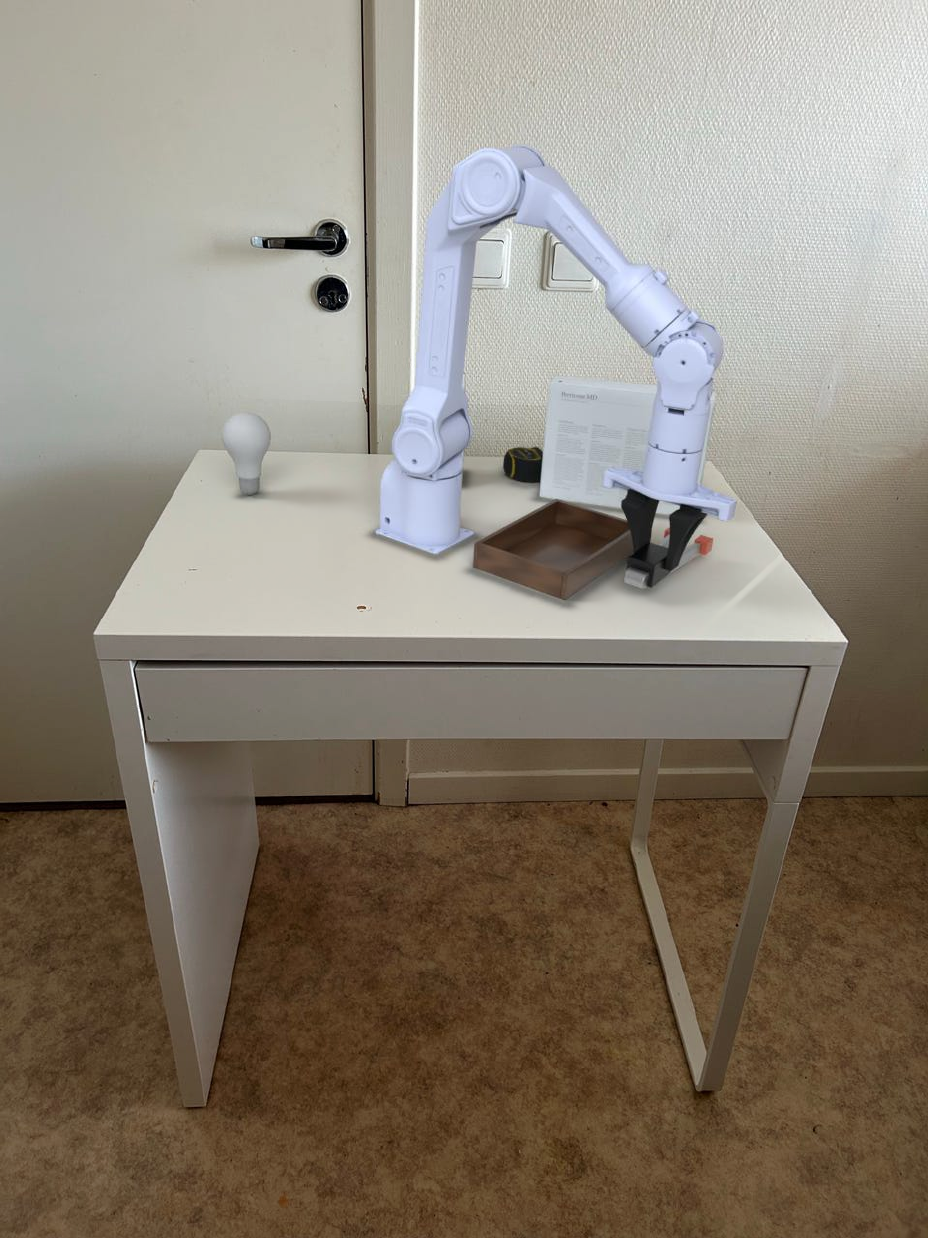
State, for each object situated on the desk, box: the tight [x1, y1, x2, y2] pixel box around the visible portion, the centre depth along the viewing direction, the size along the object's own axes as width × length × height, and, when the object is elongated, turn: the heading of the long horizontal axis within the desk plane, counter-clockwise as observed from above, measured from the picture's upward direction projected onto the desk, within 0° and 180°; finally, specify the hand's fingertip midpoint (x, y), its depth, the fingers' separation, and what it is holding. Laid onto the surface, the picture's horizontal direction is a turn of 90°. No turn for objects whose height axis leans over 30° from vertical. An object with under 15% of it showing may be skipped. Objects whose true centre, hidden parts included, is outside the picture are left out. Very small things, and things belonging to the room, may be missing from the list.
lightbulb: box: [221, 411, 272, 496], centre depth 123 cm, size 6×6×11 cm
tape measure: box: [502, 446, 543, 483], centre depth 135 cm, size 7×7×4 cm
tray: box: [472, 499, 634, 601], centre depth 111 cm, size 12×18×4 cm
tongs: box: [623, 526, 714, 590], centre depth 107 cm, size 5×15×3 cm, turn 144°
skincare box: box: [538, 374, 717, 515], centre depth 125 cm, size 21×5×16 cm, turn 76°
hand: (656, 562), depth 106 cm, fingers closed on tongs, 3 cm apart
